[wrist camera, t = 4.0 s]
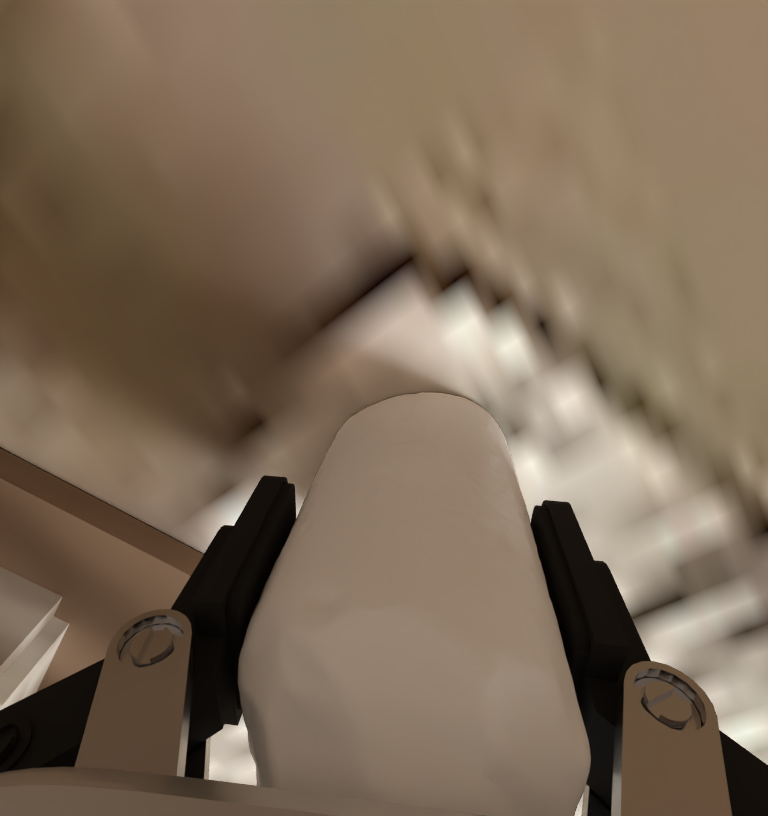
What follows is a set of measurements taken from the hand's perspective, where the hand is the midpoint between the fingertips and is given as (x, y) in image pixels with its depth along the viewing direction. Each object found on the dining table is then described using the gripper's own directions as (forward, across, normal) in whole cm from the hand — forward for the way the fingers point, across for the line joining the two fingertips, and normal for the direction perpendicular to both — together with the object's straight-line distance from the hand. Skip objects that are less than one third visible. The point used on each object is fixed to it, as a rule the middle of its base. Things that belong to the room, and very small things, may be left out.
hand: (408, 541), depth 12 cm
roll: (+3, 0, 0) cm, 3 cm away
